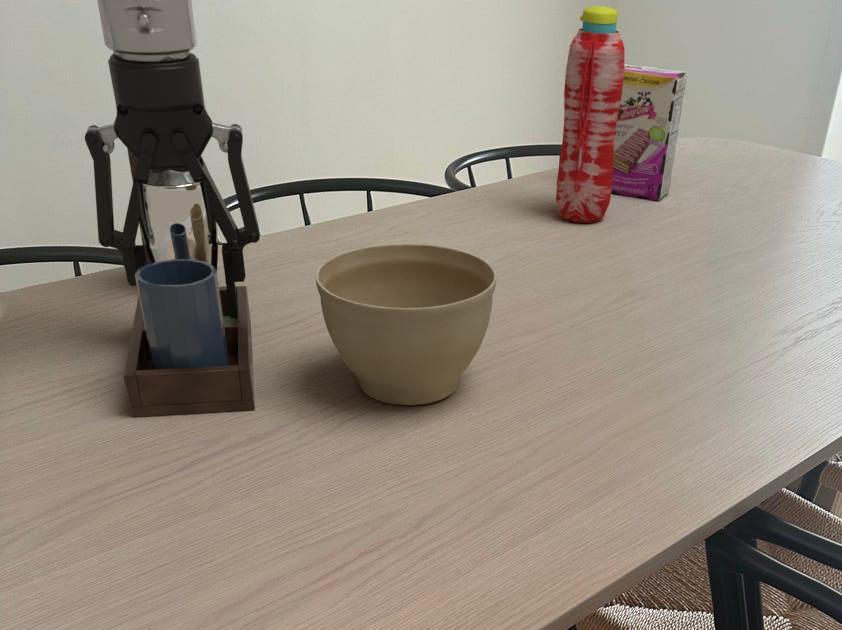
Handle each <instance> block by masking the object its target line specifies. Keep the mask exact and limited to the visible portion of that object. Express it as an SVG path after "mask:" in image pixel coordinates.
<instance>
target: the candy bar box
mask: <svg viewBox="0 0 842 630" xmlns="http://www.w3.org/2000/svg"><path fill="white" fill-rule="evenodd" d="M687 74H688V73H687V71H684V70H677V69H669V68H661V67H654V66H647V65H639V64H632V63H625V62H624V79H623V88H622V97H621V102H620V108H621V110H622V111H623V112H624V113H623V114H622V116H621V117H620V119H619V120H618V121H617V123H616V132H615V140H614V158H613V179H612V189H611V194H616V195H622V196H627V197H628V196H629V197H633V198H639V199H645V200H651V201H657V202H659V201H661V200H662V199H664V197H666V196H667V195H668V194H669V193H670V189H671V180H672V175H673V167H674V161H675V154H676V148H677V147H676V146H677V141H678V134H679V128H680V122H681V121H680V120H681V114H682V108H683V103H684V95H685V89H686V82H687V76H688V75H687Z"/></svg>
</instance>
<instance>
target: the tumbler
mask: <svg viewBox="0 0 842 630" xmlns="http://www.w3.org/2000/svg"><path fill="white" fill-rule="evenodd" d="M135 278H136V284H137V286H136V288H137V294H138V295H139V299H140V305H141V310H142V315H143V320H144V326H145V331H146V336H147V341H148V347H149V352H150V357H151V362H152V368H153V370H156V369H176V368H195V367H215V366H230V365H229V358H228V350H227V343H226V336H225V328H224V321H223V314H222V307H221V299H220V292H219V287H220V286H219V278H218V274H217V271H216V269H215V268H214V266H213V265H211V264H208V263H206V262H203V261H198V260H192V259H172V260H163V261H158V262H154V263H150V264H147V265H145V266H143V267H141V268H139V269H138V270H137V272H136V273H135Z"/></svg>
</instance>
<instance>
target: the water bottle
mask: <svg viewBox="0 0 842 630" xmlns="http://www.w3.org/2000/svg"><path fill="white" fill-rule="evenodd" d="M618 15H619V11H618V10H617V9H615V8H613V7H609V6H604V5H595V6H589V7H585V8H584V9H583V11H582V15H581V16H580V17H579V21H582V27H581V28H578V30H577V33H576V35H575V36H574V37H573V38H572V41H571V43H570V45H569V49H568V50H569V51H568V55H567V61H566V66H565V76H564V90H563V132H562V142H561V149H560V157H559V163H558V170H557V178H556V192H555V196H556V197H555V201H556V205H557V211H558V213H559V215H560V217H561V218H563V219H565V220H566V221H569V222H572V223H576V224H577V223H578V224H591V223H595V222H599V221H600V220H602V219H603V218H604V216H605V215H606V213H607V210H608V208H609V206H610V203H611V197H612V193H611V189H612V179H613V158H614V140H615V132H616V123H617V121H618V120H619V119H620V117H621V116H622V114H623V113H624V112H623V111H622V110H621V108H620V102H621V97H622V88H623V79H624V63H625V53H626V52H625V51H626V50H625V46H624V45H625V44H624V42H623V39H622V38H621V34H620V31H618V30H616V29H617V23H618Z"/></svg>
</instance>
